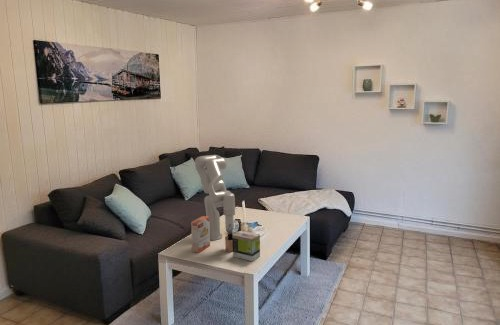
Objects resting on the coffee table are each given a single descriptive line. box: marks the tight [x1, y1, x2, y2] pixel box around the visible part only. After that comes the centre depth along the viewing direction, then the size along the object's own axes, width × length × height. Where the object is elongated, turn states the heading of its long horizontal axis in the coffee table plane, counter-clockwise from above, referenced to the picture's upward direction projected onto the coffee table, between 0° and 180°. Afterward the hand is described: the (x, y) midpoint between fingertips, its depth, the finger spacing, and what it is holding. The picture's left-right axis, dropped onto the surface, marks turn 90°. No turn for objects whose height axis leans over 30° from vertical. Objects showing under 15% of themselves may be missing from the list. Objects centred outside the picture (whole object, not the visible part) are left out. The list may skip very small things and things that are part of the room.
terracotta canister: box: [224, 235, 233, 253], centre depth 256 cm, size 6×6×9 cm
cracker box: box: [190, 215, 211, 254], centre depth 257 cm, size 14×6×21 cm, turn 153°
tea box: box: [232, 230, 261, 262], centre depth 245 cm, size 15×10×15 cm
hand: (230, 237), depth 254 cm, fingers open, 9 cm apart
